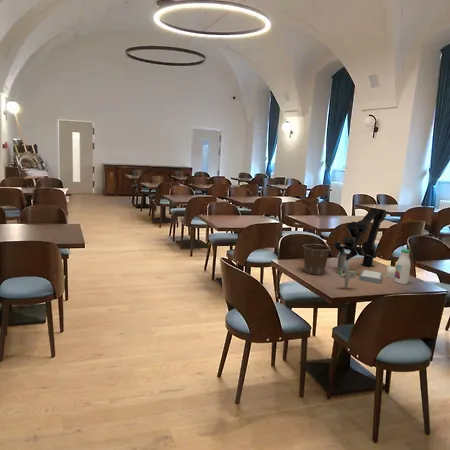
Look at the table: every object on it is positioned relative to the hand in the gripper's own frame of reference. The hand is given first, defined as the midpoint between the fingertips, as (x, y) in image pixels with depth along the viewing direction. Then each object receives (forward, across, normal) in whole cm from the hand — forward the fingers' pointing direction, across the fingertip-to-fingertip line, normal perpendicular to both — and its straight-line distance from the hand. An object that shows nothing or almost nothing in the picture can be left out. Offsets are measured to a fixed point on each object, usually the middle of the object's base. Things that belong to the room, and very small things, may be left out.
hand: (342, 259), depth 269 cm
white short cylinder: (-9, +22, +22) cm, 32 cm away
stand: (+2, +16, +11) cm, 20 cm away
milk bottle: (-4, +31, +18) cm, 36 cm away
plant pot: (+16, -11, -3) cm, 20 cm away
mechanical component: (+24, +17, -11) cm, 31 cm away
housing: (+4, 0, +6) cm, 7 cm away
